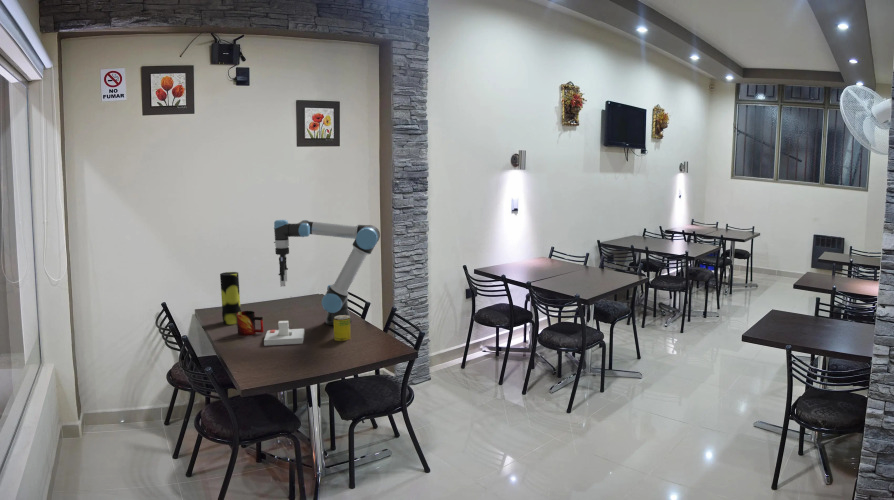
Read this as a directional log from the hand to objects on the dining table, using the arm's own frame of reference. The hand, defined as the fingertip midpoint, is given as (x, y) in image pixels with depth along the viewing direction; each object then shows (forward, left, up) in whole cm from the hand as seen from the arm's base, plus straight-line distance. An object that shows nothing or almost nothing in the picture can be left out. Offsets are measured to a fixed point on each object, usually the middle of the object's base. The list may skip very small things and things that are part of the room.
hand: (283, 283), depth 354 cm
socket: (-1, +21, -27) cm, 34 cm away
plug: (-1, +21, -27) cm, 34 cm away
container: (+33, -20, -27) cm, 47 cm away
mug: (+19, +5, -27) cm, 33 cm away
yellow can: (-32, +25, -27) cm, 49 cm away
